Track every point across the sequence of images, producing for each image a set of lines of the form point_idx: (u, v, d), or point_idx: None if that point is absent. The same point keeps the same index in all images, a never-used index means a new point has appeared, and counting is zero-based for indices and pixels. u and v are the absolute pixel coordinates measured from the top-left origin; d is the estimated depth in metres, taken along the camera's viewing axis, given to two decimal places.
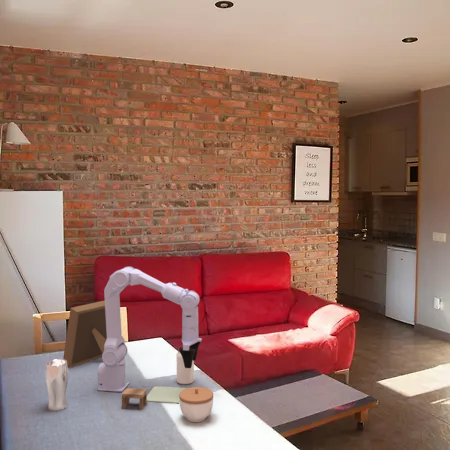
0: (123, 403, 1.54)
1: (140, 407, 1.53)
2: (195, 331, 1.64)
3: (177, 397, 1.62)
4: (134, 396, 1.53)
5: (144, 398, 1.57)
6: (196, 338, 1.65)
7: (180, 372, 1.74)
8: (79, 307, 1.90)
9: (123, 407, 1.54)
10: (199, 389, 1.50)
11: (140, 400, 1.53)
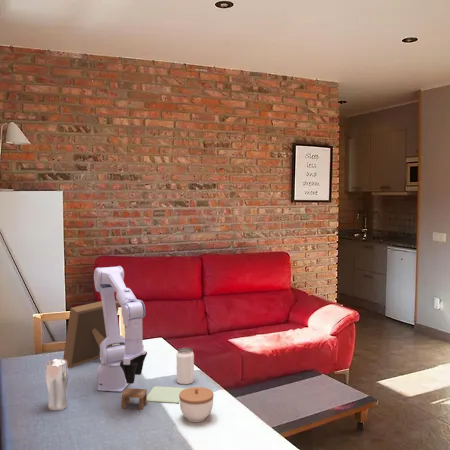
0: (123, 403, 1.54)
1: (140, 407, 1.53)
2: (138, 343, 1.53)
3: (177, 397, 1.62)
4: (134, 396, 1.53)
5: (144, 398, 1.57)
6: (139, 351, 1.53)
7: (180, 372, 1.74)
8: (79, 307, 1.90)
9: (123, 407, 1.54)
10: (199, 389, 1.50)
11: (140, 400, 1.53)
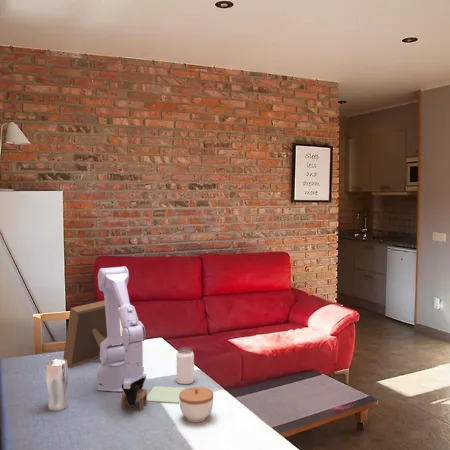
0: (123, 403, 1.54)
1: (140, 407, 1.53)
2: (138, 367, 1.53)
3: (177, 397, 1.62)
4: None
5: (144, 398, 1.57)
6: (140, 374, 1.54)
7: (180, 372, 1.74)
8: (79, 307, 1.90)
9: (123, 407, 1.54)
10: (199, 389, 1.50)
11: (140, 400, 1.53)
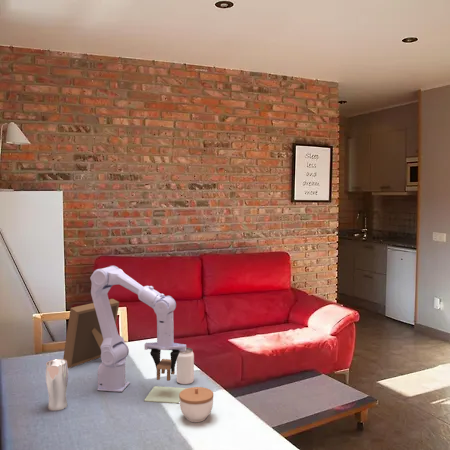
0: None
1: None
2: (158, 337, 1.61)
3: (177, 397, 1.62)
4: None
5: None
6: (159, 345, 1.61)
7: (180, 372, 1.74)
8: (79, 307, 1.90)
9: None
10: (199, 389, 1.50)
11: None
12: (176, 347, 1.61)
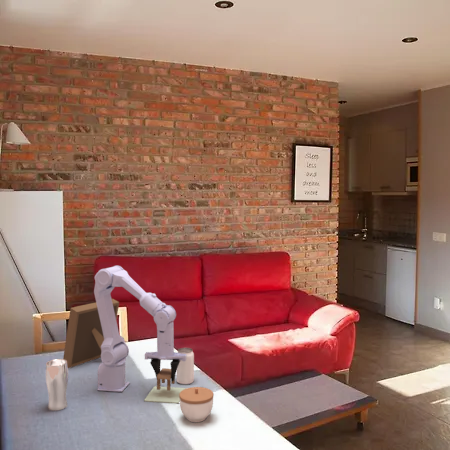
0: None
1: None
2: (158, 347, 1.62)
3: (177, 397, 1.62)
4: None
5: None
6: (159, 354, 1.61)
7: (180, 372, 1.74)
8: (79, 307, 1.90)
9: None
10: (199, 389, 1.50)
11: None
12: (176, 357, 1.62)
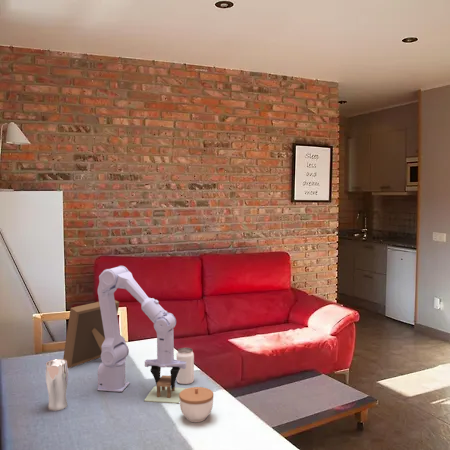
0: None
1: None
2: (158, 354, 1.62)
3: (177, 397, 1.62)
4: None
5: None
6: (159, 362, 1.62)
7: (180, 372, 1.74)
8: (79, 307, 1.90)
9: None
10: (199, 389, 1.50)
11: None
12: (176, 364, 1.62)
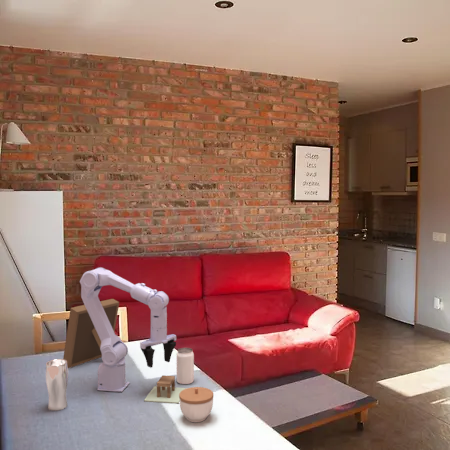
0: None
1: None
2: (158, 332, 1.64)
3: (177, 397, 1.62)
4: None
5: None
6: (160, 339, 1.64)
7: (180, 372, 1.74)
8: (79, 307, 1.90)
9: None
10: (199, 389, 1.50)
11: None
12: (171, 338, 1.69)
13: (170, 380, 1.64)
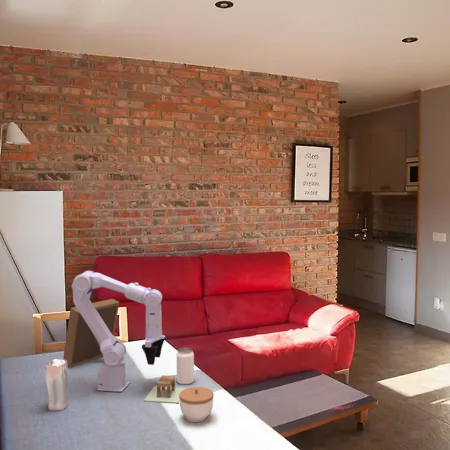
0: None
1: None
2: (158, 328, 1.68)
3: (177, 397, 1.62)
4: None
5: None
6: (159, 335, 1.69)
7: (180, 372, 1.74)
8: None
9: None
10: (199, 389, 1.50)
11: None
12: None
13: (170, 380, 1.64)
